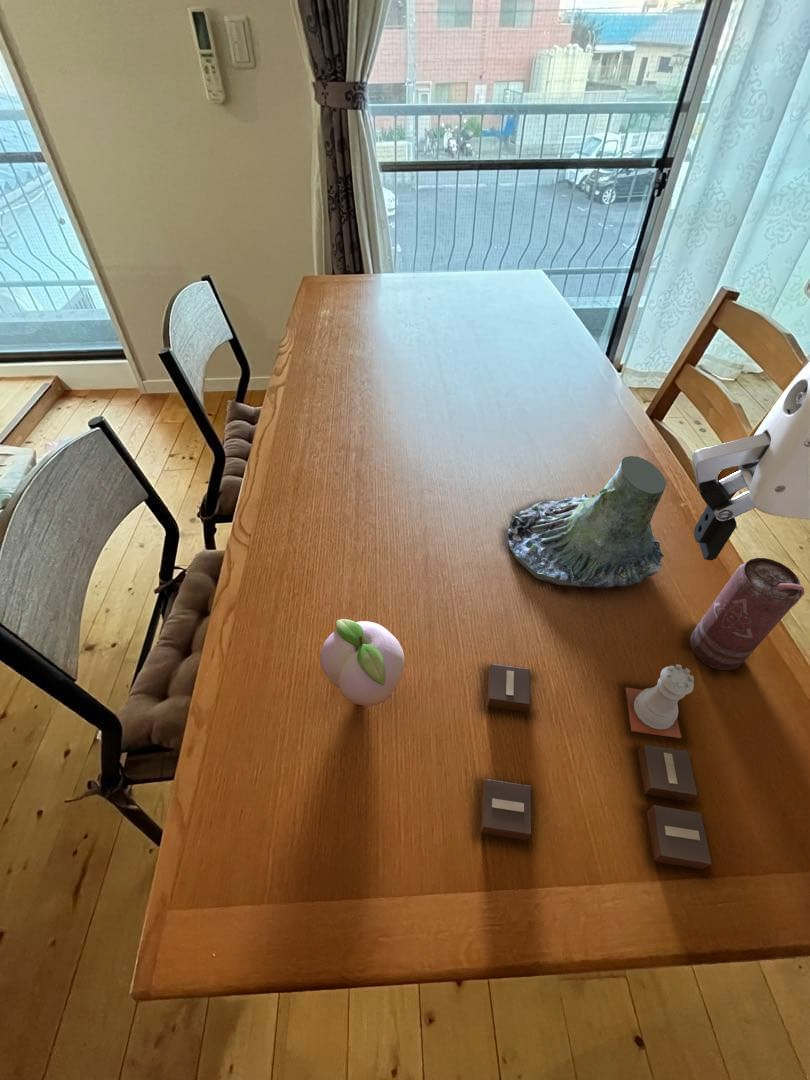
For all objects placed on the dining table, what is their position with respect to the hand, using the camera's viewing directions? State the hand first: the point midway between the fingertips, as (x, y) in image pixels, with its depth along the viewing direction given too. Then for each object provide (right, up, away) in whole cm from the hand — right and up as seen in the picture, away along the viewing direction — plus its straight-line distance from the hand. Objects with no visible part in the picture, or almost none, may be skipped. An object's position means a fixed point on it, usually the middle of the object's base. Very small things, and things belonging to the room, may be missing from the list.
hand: (769, 554), depth 42 cm
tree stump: (-3, 0, +36) cm, 37 cm away
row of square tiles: (-1, -23, +15) cm, 27 cm away
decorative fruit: (-32, -16, +21) cm, 42 cm away
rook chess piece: (0, -18, +19) cm, 26 cm away
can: (+10, -12, +25) cm, 30 cm away
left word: (-17, -21, +16) cm, 31 cm away
